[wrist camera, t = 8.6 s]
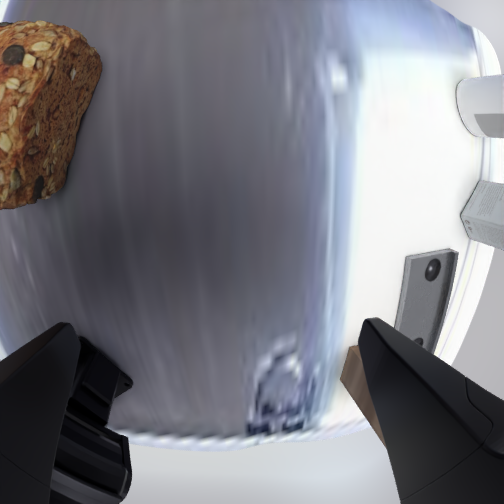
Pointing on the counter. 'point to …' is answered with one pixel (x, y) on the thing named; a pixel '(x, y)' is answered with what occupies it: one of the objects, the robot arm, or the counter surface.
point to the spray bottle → (482, 105)
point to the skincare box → (486, 214)
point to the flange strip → (426, 296)
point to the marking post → (360, 388)
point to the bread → (41, 106)
